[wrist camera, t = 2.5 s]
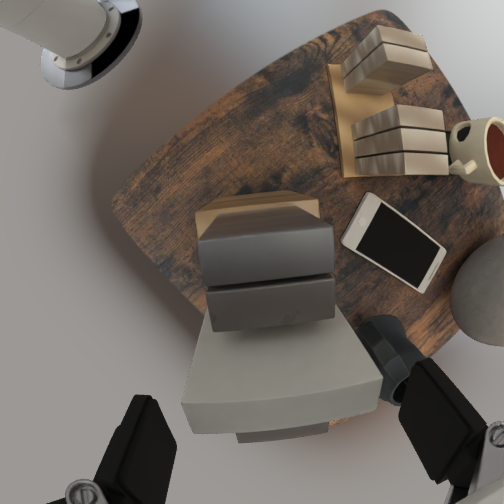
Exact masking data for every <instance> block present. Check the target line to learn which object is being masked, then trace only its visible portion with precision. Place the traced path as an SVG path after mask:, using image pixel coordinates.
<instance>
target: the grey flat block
mask: <svg viewBox="0 0 504 504" xmlns="http://www.w3.org/2000/svg"><path fill="white" fill-rule="evenodd" d="M382 382H383V376H382V375H381V373H380V371H379V370H378V368H377V367H376V365H375V363H374V362H373V360H372V359H371V357H370V356H369V354H368V352H367V351H366V349H365V348H364V346H363V345H362V343H361V342H360V340H359V339H358V337H357V335H356V334H355V332H354V331H353V329H352V328H351V326H350V325H349V323H348V322H347V320H346V319H345V317H344V316H343V314H342V313H341V311H340V310H339V308H338V307H337V305H336V304H335V318H333V319H326V320H320V321H313V322H306V323H299V324H291V325H284V326H276V327H267V328H258V329H248V330H238V331H226V332H213V331H212V327H211V322H210V316H209V311H208V307H207V310H206V314H205V317H204V321H203V324H202V328H201V331H200V335H199V338H198V342H197V346H196V349H195V353H194V356H193V360H192V364H191V367H190V371H189V375H188V379H187V383H186V386H185V390H184V394H183V398H182V401H181V404H182V407H183V410H184V412H185V414H186V417H187V420H188V422H189V425H190V427H191V430H192V432H193V433H195V434H219V433H243V432H257V431H268V430H277V429H286V428H293V427H300V426H306V425H312V424H318V423H323V422H329V421H334V420H338V419H343V418H347V417H352V416H356V415H360V414H364V413H368V412H371V411H375V410H376V408H377V404H378V400H379V395H380V391H381V386H382Z"/></svg>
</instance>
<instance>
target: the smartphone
mask: <svg viewBox="0 0 504 504" xmlns="http://www.w3.org/2000/svg"><path fill="white" fill-rule="evenodd" d="M340 242H341V243H342V244H343V245H344V246H346V247H347V248H349V249H351V250H352V251H354V252H356V253H357V254H359V255H361V256H362V257H364V258H366V259H367V260H369V261H371V262H372V263H374V264H376V265H377V266H379V267H380V268H382V269H384V270H385V271H387V272H389V273H390V274H392V275H393V276H395V277H397V278H398V279H400V280H401V281H403V282H404V283H406V284H408V285H409V286H411V287H412V288H414V289H415V290H417V291H418V292H420V293H424V292H425V290H426V288H427V287H428V285H429V283H430V282H431V280H432V278H433V276H434V275H435V273H436V271H437V269H438V267H439V265H440V264H441V262H442V260H443V258H444V256H445V254H446V250H445V249H444V248H443V247H442V246H441V245H440V244H438V243H437V242H436V241H435V240H434V239H432V238H431V237H430V236H429V235H428V234H426V233H425V232H424V231H423V230H421V229H420V228H419V227H418V226H416V225H415V224H414V223H412V222H411V221H410V220H409V219H407V218H406V217H405V216H403V215H402V214H401V213H399V212H398V211H397V210H395V209H394V208H393V207H391V206H390V205H388V204H387V203H386V202H384V201H383V200H381V199H380V198H379V197H377V196H376V195H374V194H373V193H369V192H366V194H365V195H364V197H363V199H362V201H361V203H360V205H359V207H358V209H357V210H356V212H355V214H354V216H353V218H352V220H351V221H350V223H349V225H348V227H347V229H346V230H345V232H344V234H343V236H342V238H341V239H340Z"/></svg>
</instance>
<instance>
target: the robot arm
mask: <svg viewBox="0 0 504 504" xmlns="http://www.w3.org/2000/svg"><path fill="white" fill-rule="evenodd" d="M120 24H121V14H120V11H119V10H118V9H117V7H116V6H114V5H113V4H111V3H108V2H98V1H97V0H0V26H1V27H3V28H5V29H8V30H10V31H12V32H14V33H16V34H18V35H20V36H22V37H24V38H26V39H28V40H30V41H32V42H34V43H36V44H38V45H40V46H42V47H44V48H45V49H47V50H49V51H51V59H52V61H53V63H54V64H55V65H56V66H57V67H59V68H60V69H63V70H75V69H79V68H81V67H84V66H85V65H87V64H89V63H91V62H92V61H94V60H95V59H96V58H98V57H99V56H100V55H101V54H102V53H103V52H104V51H105V50H106V49H107V48H108V47H109V46H110V44H111V43H112V41H113V40H114V38H115V37H116V35H117V33H118V31H119V28H120ZM398 417H399V421H400V423H401V425H402V426H403V428H404V430H405V432H406V434H407V436H408V437H409V439H410V441H411V443H412V445H413V447H414V449H415V451H416V452H417V454H418V456H419V458H420V460H421V462H422V464H423V466H424V468H425V470H426V471H427V474H428V475H429V477H430V479H431V480H435V482H436V484H439V483H441V482H443V481H445V480H447V479H448V480H449V482H450V484H451V485H450V488H449V491H448V494H447V497H446V500H445V503H444V504H504V421H497V422H494V423H493V424H491V425H490V426H489V427H488V426H487V425H486V422H485V421H484V420H483V418H482V417H481V416H480V415H479V413H478V412H477V411H476V410H475V409H474V407H473V406H472V405H471V404H470V403H469V401H468V400H467V399H466V398H465V396H464V395H463V394H462V393H461V392H460V390H459V389H458V388H457V387H456V386H455V385H454V383H452V381H451V380H450V379H449V378H448V377H447V375H446V374H445V373H444V372H443V371H442V370H441V369H440V368H439V367H438V365H437V364H436V363H435V362H434V361H433V360H432V359H431V358H426V359H423V360H420V361H417V362H416V363H415V364H414V366H413V367H412V368H411V371H410V375H409V379H408V383H407V387H406V390H405V394H404V397H403V401H402V404H401V407H400V411H399V416H398ZM176 451H177V444H176V441H175V439H174V437H173V435H172V433H171V431H170V429H169V427H168V425H167V423H166V420H165V418H164V416H163V414H162V412H161V409H160V407H159V404H158V402H157V400H155V399H153V398H152V397H151V396H150V395H135V396H134V397H133V399H132V401H131V403H130V405H129V407H128V409H127V412H126V414H125V416H124V418H123V420H122V422H121V425H119V426H118V427H117V428H116V430H115V432H114V434H113V436H112V438H111V440H110V443H109V445H108V447H107V449H106V452H105V454H104V456H103V459H102V461H101V463H100V465H99V468H98V470H97V472H96V475H95V477H94V480H93V481H91V480H88V479H80V480H76V481H74V482H72V483H71V484H70V485H69V486H68V487H67V489H66V493H65V498H62V499H59V500H56V501H53V502H50V503H47V504H165V501H166V496H167V492H168V487H169V482H170V478H171V473H172V469H173V464H174V460H175V455H176Z"/></svg>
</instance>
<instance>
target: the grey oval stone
mask: <svg viewBox="0 0 504 504" xmlns="http://www.w3.org/2000/svg"><path fill="white" fill-rule="evenodd" d="M450 308H451V312H452V315H453V318H454V320H455V322H456V323H457V325H458V326H459V328H460V329H461V330H462V331H463V332H464V333H465V334H466V335H467V336H469V337H470V338H472V339H474V340H476V341H479V342H481V343H484V344H488V345H494V346H504V234H503V235H500V236H497V237H495V238H493V239H491V240H489V241H487V242H486V243H484V244H483V245H481V246H480V247H479V248H477V249H476V250H475V251H474V252H473V253H472V254H471V255H470V256H469V257H468V258H467V259H466V260H465V262H464V263H463V265H462V266H461V268H460V269H459V271H458V273H457V275H456V277H455V279H454V282H453V285H452V289H451V294H450Z"/></svg>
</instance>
